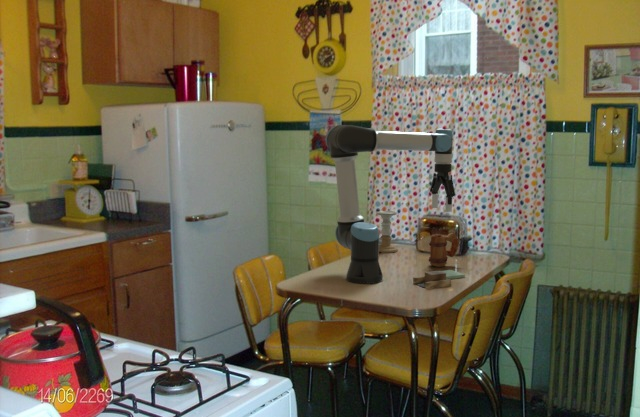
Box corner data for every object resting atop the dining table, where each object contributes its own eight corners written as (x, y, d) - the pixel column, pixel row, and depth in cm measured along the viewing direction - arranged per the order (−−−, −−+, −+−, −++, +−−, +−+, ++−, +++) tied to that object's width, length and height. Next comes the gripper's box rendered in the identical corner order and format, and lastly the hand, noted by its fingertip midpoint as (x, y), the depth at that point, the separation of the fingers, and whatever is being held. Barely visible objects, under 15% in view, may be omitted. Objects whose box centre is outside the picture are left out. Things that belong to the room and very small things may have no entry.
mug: (432, 268, 294) (433, 235, 292) (424, 264, 302) (425, 232, 300) (461, 266, 298) (462, 234, 296) (453, 263, 305) (454, 231, 304)
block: (431, 286, 261) (431, 274, 260) (424, 284, 266) (424, 272, 265) (445, 285, 264) (446, 273, 263) (438, 282, 268) (439, 270, 268)
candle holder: (385, 247, 344) (386, 210, 341) (402, 251, 334) (403, 212, 332) (369, 250, 336) (369, 212, 333) (386, 254, 326) (386, 214, 324)
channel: (426, 288, 257) (426, 282, 257) (413, 283, 266) (413, 277, 266) (451, 285, 262) (451, 279, 262) (437, 280, 271) (437, 274, 271)
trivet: (445, 279, 273) (445, 276, 273) (431, 274, 282) (431, 271, 282) (464, 277, 277) (464, 274, 277) (450, 272, 286) (450, 269, 286)
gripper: (464, 164, 283) (462, 213, 286) (437, 161, 307) (436, 206, 310) (448, 164, 281) (447, 213, 284) (423, 161, 305) (422, 206, 307)
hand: (441, 209), depth 297 cm, fingers open, 13 cm apart
